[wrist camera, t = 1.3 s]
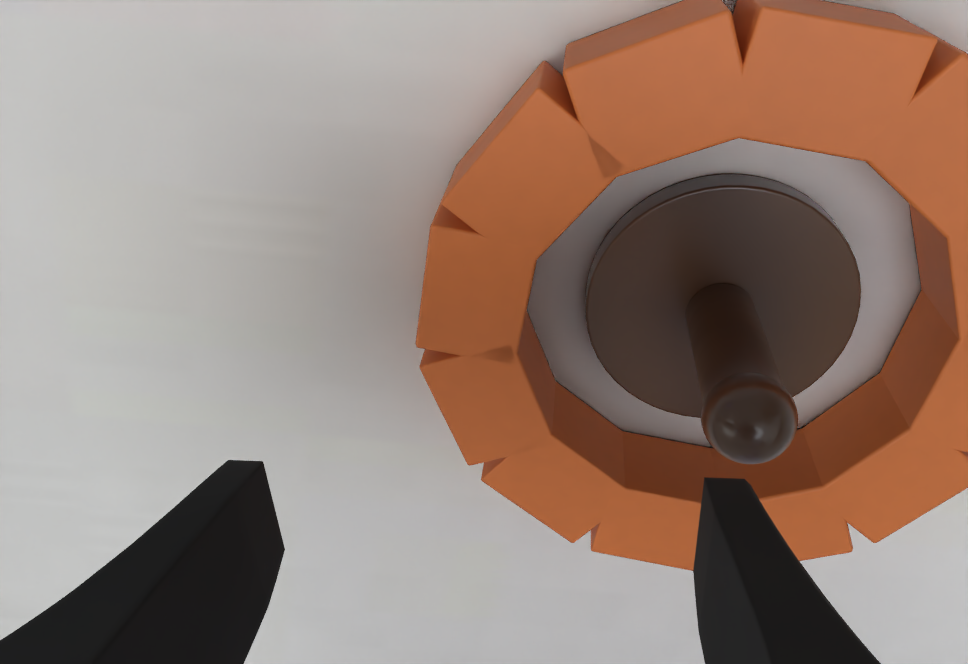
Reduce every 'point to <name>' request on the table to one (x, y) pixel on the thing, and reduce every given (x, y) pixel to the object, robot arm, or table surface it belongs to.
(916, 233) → the ring
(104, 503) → the table surface
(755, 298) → the peg stand
